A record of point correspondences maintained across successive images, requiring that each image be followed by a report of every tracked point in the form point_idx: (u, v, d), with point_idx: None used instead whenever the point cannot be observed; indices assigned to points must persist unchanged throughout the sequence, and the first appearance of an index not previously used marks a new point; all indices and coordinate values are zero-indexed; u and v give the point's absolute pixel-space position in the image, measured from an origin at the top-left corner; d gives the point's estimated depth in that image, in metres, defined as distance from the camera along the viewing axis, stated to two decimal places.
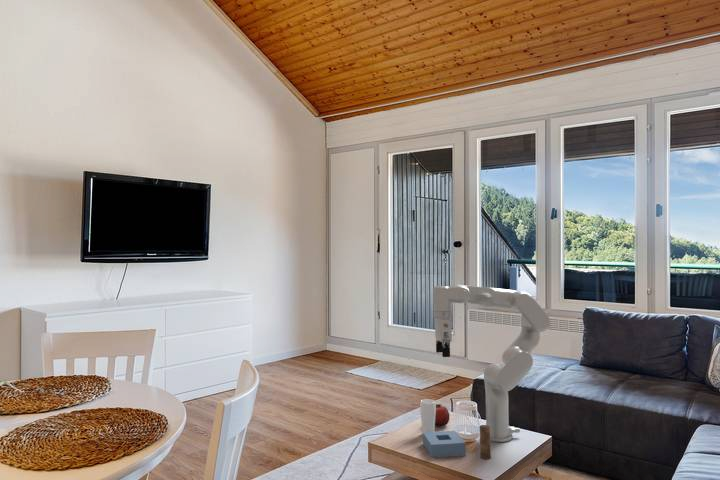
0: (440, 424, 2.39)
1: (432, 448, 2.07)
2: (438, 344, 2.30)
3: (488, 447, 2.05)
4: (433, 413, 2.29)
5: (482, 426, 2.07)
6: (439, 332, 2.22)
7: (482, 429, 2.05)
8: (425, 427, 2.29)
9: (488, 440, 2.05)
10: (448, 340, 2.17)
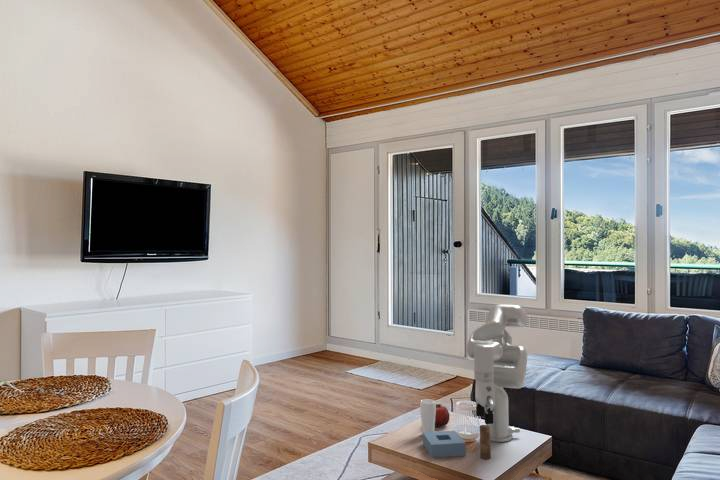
0: (440, 424, 2.39)
1: (432, 448, 2.07)
2: (478, 407, 2.11)
3: (488, 447, 2.05)
4: (433, 413, 2.29)
5: (482, 426, 2.07)
6: (481, 396, 2.03)
7: (482, 429, 2.05)
8: (425, 427, 2.29)
9: (488, 440, 2.05)
10: (492, 406, 1.98)
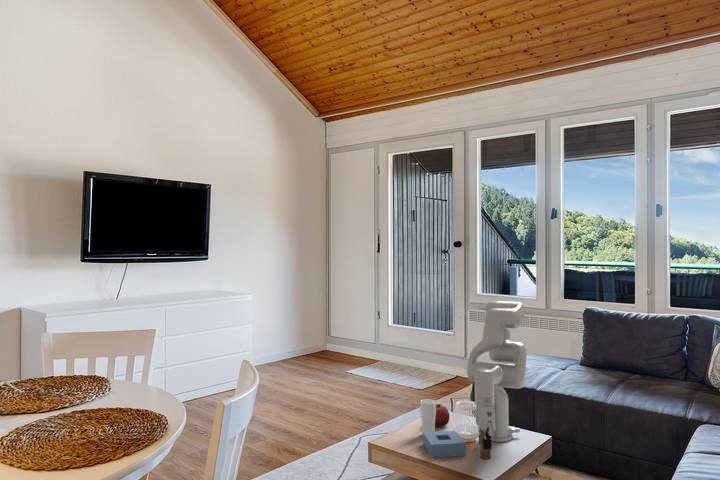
0: (440, 424, 2.39)
1: (432, 448, 2.07)
2: None
3: None
4: (433, 413, 2.29)
5: None
6: (482, 420, 2.04)
7: None
8: (425, 427, 2.29)
9: None
10: (491, 435, 2.00)
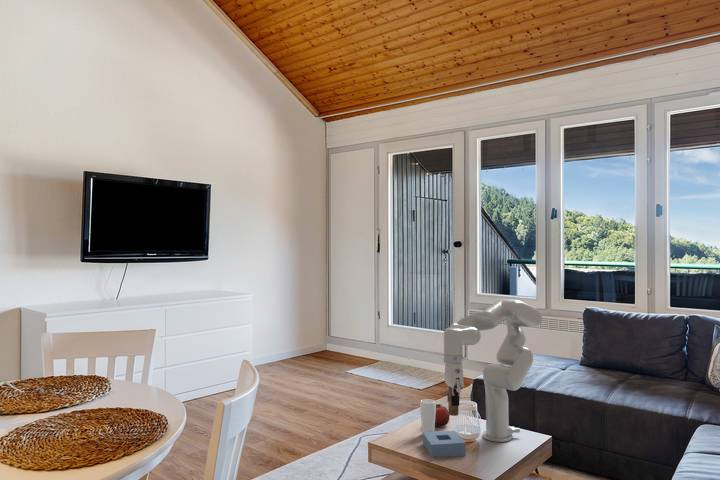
0: (440, 424, 2.39)
1: (432, 448, 2.07)
2: None
3: None
4: (433, 413, 2.29)
5: None
6: (450, 378, 2.09)
7: None
8: (425, 427, 2.29)
9: None
10: (459, 391, 2.06)
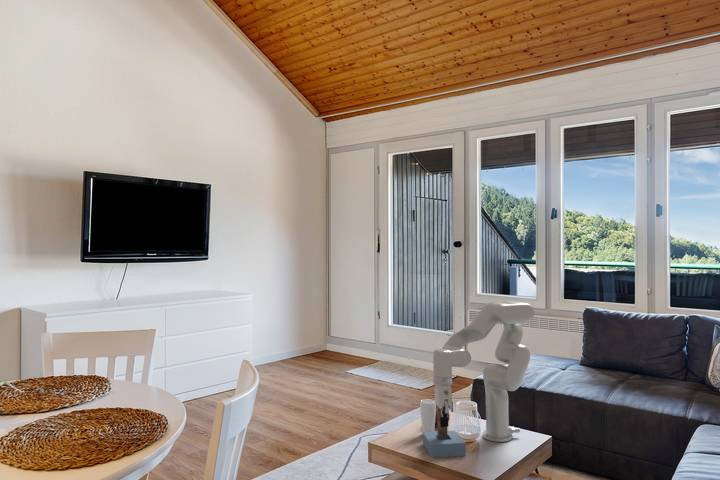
0: None
1: (432, 448, 2.07)
2: None
3: None
4: (433, 413, 2.29)
5: None
6: (439, 399, 2.12)
7: None
8: (425, 427, 2.29)
9: None
10: (447, 413, 2.09)
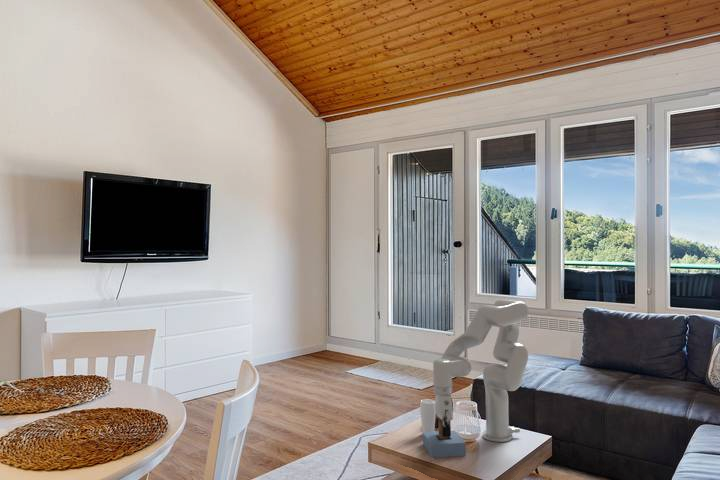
0: None
1: (432, 448, 2.07)
2: None
3: (446, 437, 2.13)
4: (433, 413, 2.29)
5: None
6: (439, 409, 2.12)
7: (440, 420, 2.13)
8: (425, 427, 2.29)
9: None
10: (449, 420, 2.07)
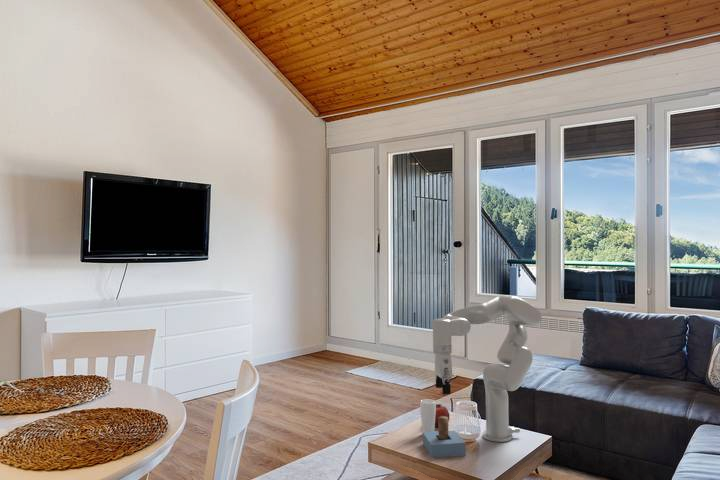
0: None
1: (432, 448, 2.07)
2: (438, 379, 2.20)
3: (446, 437, 2.13)
4: (433, 413, 2.29)
5: (440, 417, 2.15)
6: (439, 368, 2.12)
7: (440, 420, 2.13)
8: (425, 427, 2.29)
9: (446, 431, 2.13)
10: (448, 377, 2.07)
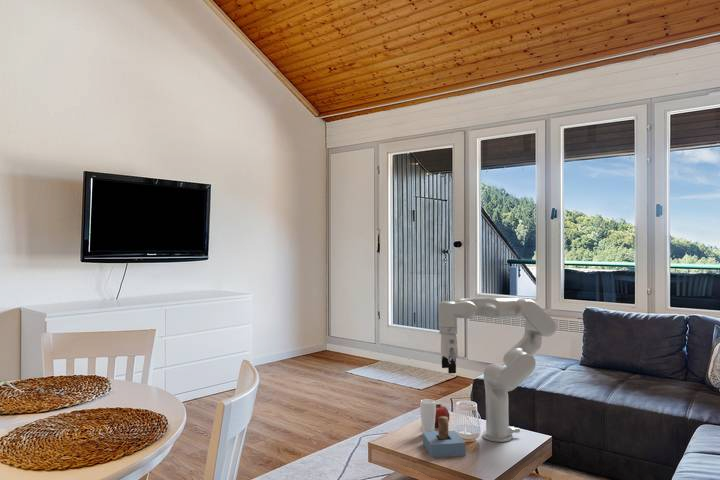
0: None
1: (432, 448, 2.07)
2: (444, 360, 2.28)
3: (446, 437, 2.13)
4: (433, 413, 2.29)
5: (440, 417, 2.15)
6: (445, 348, 2.21)
7: (440, 420, 2.13)
8: (425, 427, 2.29)
9: (446, 431, 2.13)
10: (454, 356, 2.16)
